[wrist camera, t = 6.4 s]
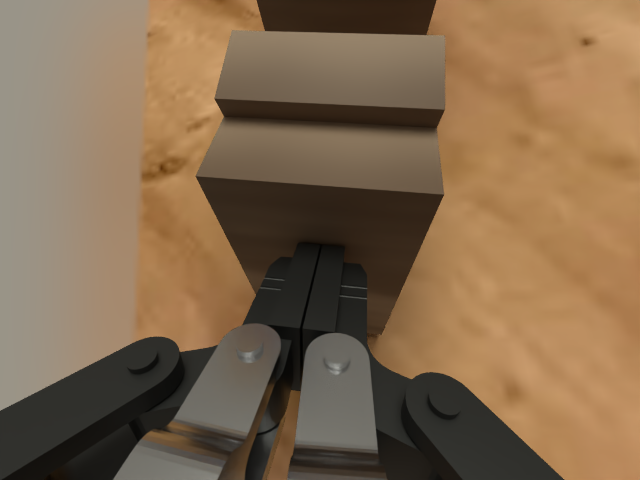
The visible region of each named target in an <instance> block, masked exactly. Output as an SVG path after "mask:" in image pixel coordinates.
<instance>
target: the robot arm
mask: <svg viewBox="0 0 640 480" xmlns="http://www.w3.org/2000/svg"><path fill="white" fill-rule="evenodd" d="M344 257H345V247H343V246H332V245H322V249H321V245H320V244H309V243H298V244H297V247H296V250H295V252H294V255H293V258H292V257H282V256H281V257H279V258H278V259H277V260H276V261H274V262H273V263H272V264H271V265H270V266H269V268H268V270H267V273H266V275H265V279H263V281H262V283H261V286H260V288H259V290H258V292H257V294H256V297H255V299H254V301H253V303H252V305H251V307H250V310H249V312H248V314H247V316H246V318H245V320H244V323H243V325H242V326H239V327H237V328H235V329H233V330H231V331H230V332H229V333H227V334H226V335H225V336H224V337H223V339H222V340H221V342H220V343H219V345H216V346H213V347H209V348H204V349H197V350H191V351H184V352H180V351H179V348H178V346H177V344H176V343H175V342H174V341H172V340H171V339H169V338H165V337H149V338H145V339H142V340H139V341H136V342H134V343H132V344H130V345H128V346H126V347H124V348H122V349H120V350H119V351H116V352H114V353H113V354H111V355H109V356H107V357H105V358H103V359H101V360H99V361H97V362H95V363H93V364H91V365H89V366H87V367H85V368H83V369H81V370H79V371H77V372H75V373H73V374H71V375H70V376H68V377H66V378H64V379H62V380H60V381H58V382H56V383H54V384H52V385H50V386H48V387H46V388H44V389H42V390H40V391H38V392H37V393H34V394H32V395H31V396H28V397H27V398H24V399H23V400H21V401H19V402H17V403H15V404H13V405H11V406H9V407H7V408H5V409H3V410H1V411H0V480H267V478H268V475H269V471H270V468H271V465H272V462H273V458H274V455H275V452H276V448H277V445H278V442H279V438H280V435H281V432H282V428H283V425H284V422H285V412H286V409H287V405H288V400H289V396H290V392H291V390H295V391H301V394H300V403H299V411H298V420H297V429H296V437H295V445H294V451H293V455H292V457H291V460H290V465H289V471H288V478H287V480H387V479H388V480H564V479H563V478H562V477H561V476H560V475H559V474H558V473H557V472H555V471H554V470H553V469H552V468H551V467H550V466H549V465H548V464H547V463H546V462H545V461H544V460H543V459H542V458H541V457H540V456H539V455H537V454H536V453H535V452H534V451H533V450H532V449H531V448H530V447H529V446H528V445H527V444H526V443H525V442H524V441H523V440H522V439H521V438H519V437H518V436H517V435H516V434H515V433H514V432H513V431H512V430H511V429H510V428H509V427H508V426H507V425H506V424H505V423H504V422H503V421H501V420H500V419H499V418H498V417H497V416H496V415H495V414H494V413H493V412H492V411H491V410H490V409H489V408H488V407H487V406H486V405H485V404H483V403H482V402H481V401H480V400H479V399H478V398H477V397H476V396H475V395H474V394H473V393H472V392H471V391H470V390H469V389H468V388H466V387H465V386H464V385H463V384H462V383H460V382H459V381H457V380H456V379H454V378H452V377H450V376H447V375H444V374H440V373H433V372H430V373H423V374H420V375H418V376H416V377H415V378H413V379H412V380H411V379H409V378H407V377H404V376H402V375H400V374H397V373H395V372H393V371H391V370H389V369H387V368H386V367H384V366H383V365H381V364H380V363H379V362H378V361H377V360H376V359H375V358H374V357H373V355H372V354H371V352H370V350H369V348H368V344H367V274H366V272H365V270H364V269H363V267H362V266H361V264H357V263H346V262H344Z"/></svg>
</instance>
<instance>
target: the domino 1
mask: <svg viewBox="0 0 640 480" xmlns="http://www.w3.org/2000/svg"><path fill="white" fill-rule="evenodd" d="M257 3H258V7H259V11H260V14H261V18H262V22H263V25H264V29H265V31H275V32H316V33H356V34H396V35H426V34H427V31H428V27H429V24H430V20H431V17H432V13H433V10H434V7H435V3H436V0H257Z"/></svg>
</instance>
